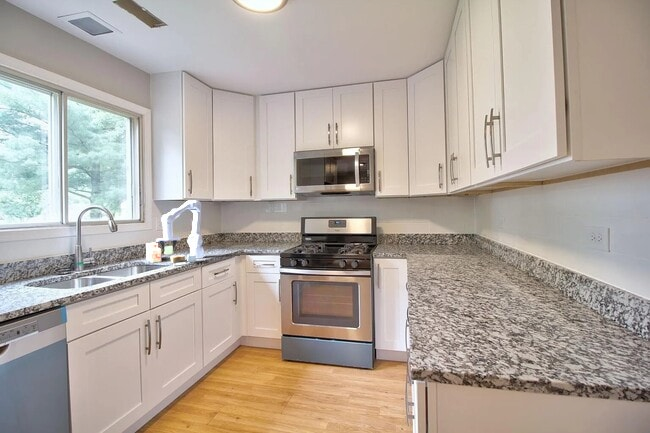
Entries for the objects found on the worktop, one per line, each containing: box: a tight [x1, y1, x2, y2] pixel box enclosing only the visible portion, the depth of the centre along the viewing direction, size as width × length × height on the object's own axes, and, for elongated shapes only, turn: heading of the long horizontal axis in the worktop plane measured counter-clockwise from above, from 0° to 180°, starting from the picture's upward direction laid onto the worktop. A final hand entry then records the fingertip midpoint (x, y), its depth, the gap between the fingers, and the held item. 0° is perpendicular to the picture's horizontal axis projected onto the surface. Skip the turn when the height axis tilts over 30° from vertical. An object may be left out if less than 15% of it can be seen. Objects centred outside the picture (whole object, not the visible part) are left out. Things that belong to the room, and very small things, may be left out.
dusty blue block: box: [186, 254, 197, 263], centre depth 211 cm, size 5×5×5 cm
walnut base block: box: [170, 254, 186, 264], centre depth 214 cm, size 8×8×4 cm
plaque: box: [172, 261, 190, 267], centre depth 201 cm, size 9×9×1 cm
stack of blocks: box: [145, 242, 162, 264], centre depth 218 cm, size 21×6×12 cm, turn 40°
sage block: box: [163, 245, 174, 255], centre depth 205 cm, size 5×5×5 cm
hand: (168, 251), depth 205 cm, fingers closed on sage block, 5 cm apart
